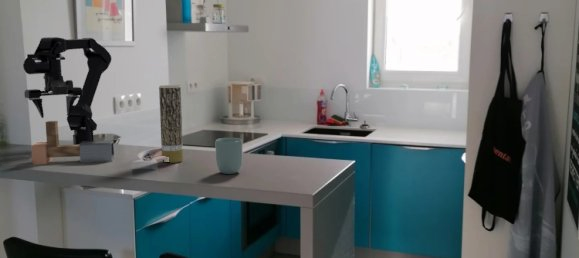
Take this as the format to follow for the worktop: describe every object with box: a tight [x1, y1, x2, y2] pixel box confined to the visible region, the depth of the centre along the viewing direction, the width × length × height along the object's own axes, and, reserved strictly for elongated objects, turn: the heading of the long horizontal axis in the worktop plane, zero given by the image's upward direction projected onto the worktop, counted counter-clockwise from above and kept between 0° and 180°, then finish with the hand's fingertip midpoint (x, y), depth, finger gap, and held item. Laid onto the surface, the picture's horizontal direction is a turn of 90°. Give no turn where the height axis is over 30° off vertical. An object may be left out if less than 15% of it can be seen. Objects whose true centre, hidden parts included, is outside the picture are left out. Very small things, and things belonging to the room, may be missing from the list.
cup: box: [214, 137, 244, 175], centre depth 173 cm, size 8×8×10 cm
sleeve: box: [79, 140, 115, 163], centre depth 194 cm, size 10×5×6 cm, turn 98°
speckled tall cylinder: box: [158, 84, 184, 164], centre depth 190 cm, size 7×7×25 cm
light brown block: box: [30, 141, 53, 166], centre depth 192 cm, size 4×7×6 cm, turn 7°
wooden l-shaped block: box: [45, 120, 80, 158], centre depth 192 cm, size 16×3×12 cm, turn 98°
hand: (55, 116), depth 209 cm, fingers open, 9 cm apart
